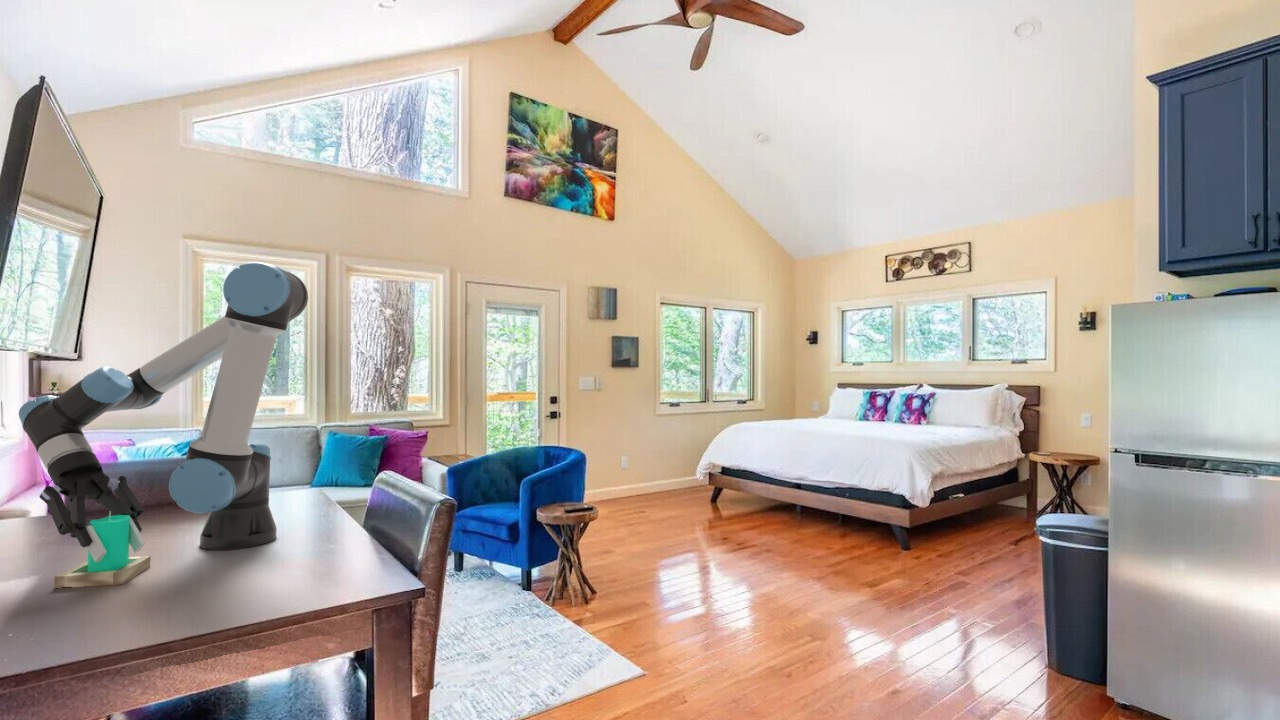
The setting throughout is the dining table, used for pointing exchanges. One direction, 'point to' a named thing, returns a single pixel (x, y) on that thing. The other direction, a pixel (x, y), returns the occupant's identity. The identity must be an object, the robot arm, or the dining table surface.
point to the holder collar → (101, 574)
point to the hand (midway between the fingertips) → (121, 552)
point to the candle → (111, 543)
